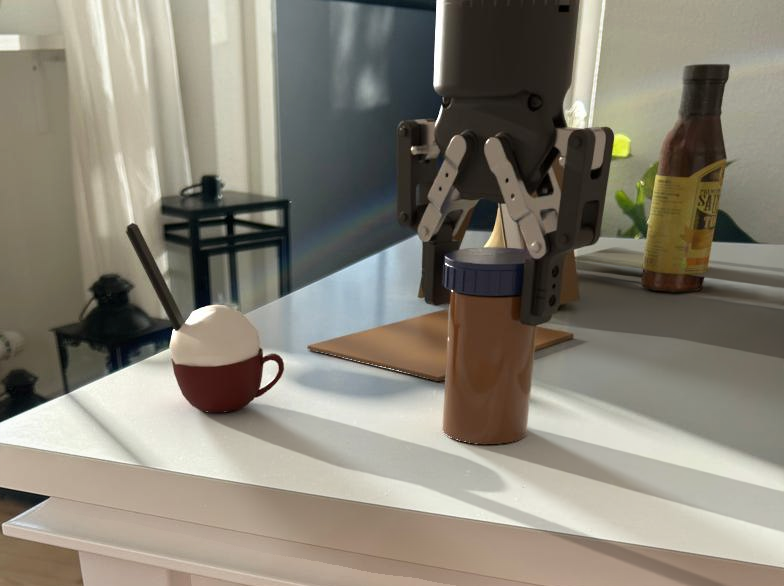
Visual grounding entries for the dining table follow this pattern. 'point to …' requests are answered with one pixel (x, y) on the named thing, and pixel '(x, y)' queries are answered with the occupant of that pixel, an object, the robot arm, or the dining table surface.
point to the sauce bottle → (688, 185)
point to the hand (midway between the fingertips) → (486, 312)
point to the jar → (487, 369)
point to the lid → (485, 271)
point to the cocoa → (209, 347)
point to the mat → (412, 345)
